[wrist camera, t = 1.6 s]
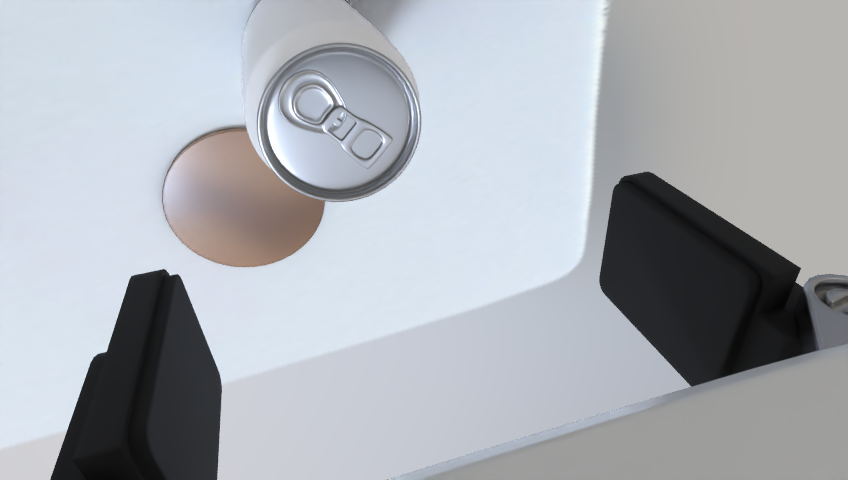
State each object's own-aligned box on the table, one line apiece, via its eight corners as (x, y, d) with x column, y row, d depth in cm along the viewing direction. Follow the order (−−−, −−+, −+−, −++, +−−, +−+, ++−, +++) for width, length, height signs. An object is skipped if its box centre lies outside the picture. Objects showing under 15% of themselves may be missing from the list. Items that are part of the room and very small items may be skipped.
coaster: (138, 142, 27) (137, 145, 27) (309, 116, 29) (310, 118, 29) (191, 277, 32) (190, 281, 32) (334, 247, 34) (335, 250, 34)
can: (291, -48, 25) (324, -20, 15) (391, 42, 28) (468, 112, 19) (215, 60, 26) (201, 148, 17) (319, 133, 30) (357, 241, 20)
